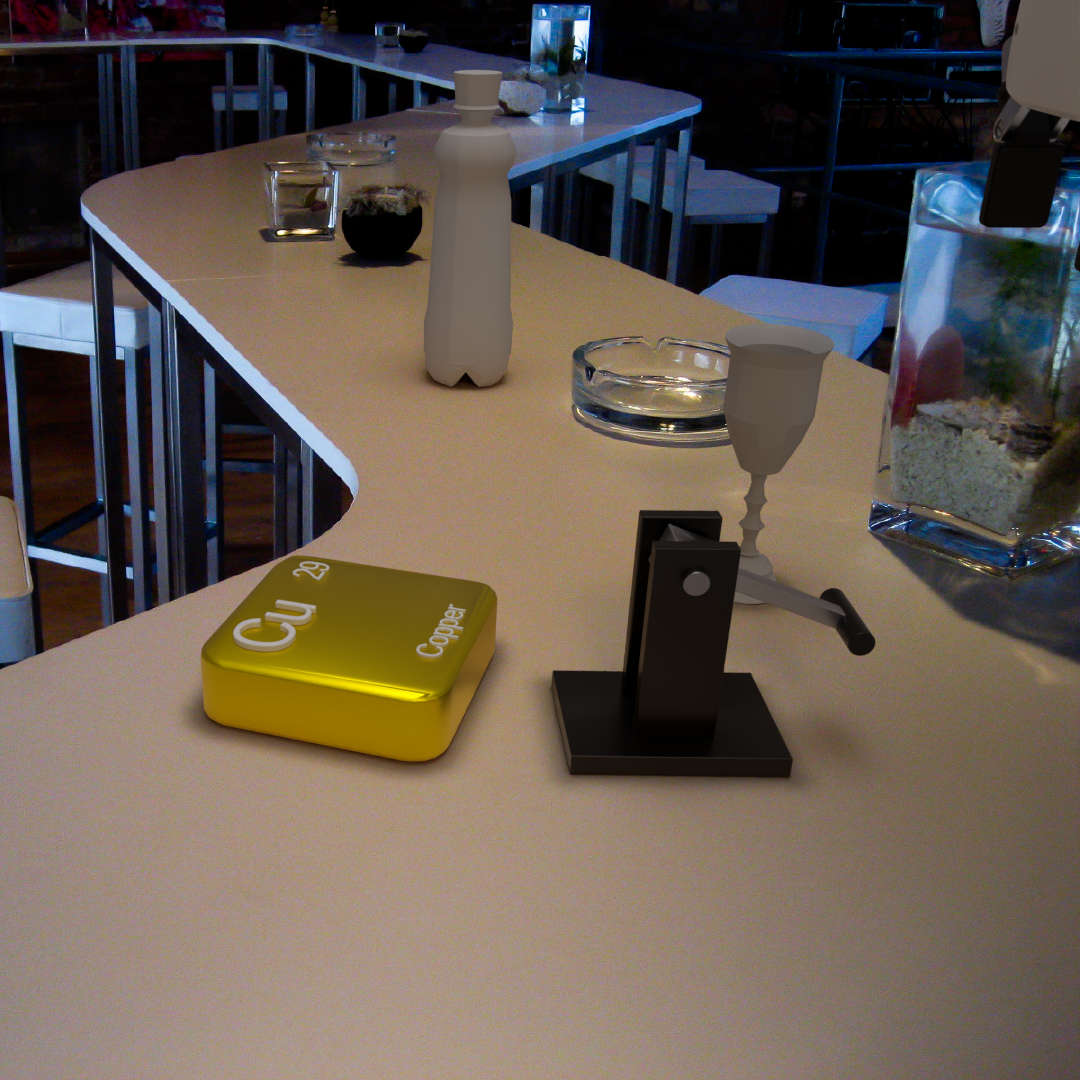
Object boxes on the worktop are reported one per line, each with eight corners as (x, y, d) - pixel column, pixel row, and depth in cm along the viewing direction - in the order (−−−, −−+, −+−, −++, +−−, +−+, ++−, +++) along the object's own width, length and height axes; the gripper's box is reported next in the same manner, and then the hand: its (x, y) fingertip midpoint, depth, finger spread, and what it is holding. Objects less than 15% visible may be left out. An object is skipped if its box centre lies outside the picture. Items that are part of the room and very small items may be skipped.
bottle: (510, 392, 127) (527, 77, 115) (420, 389, 128) (426, 76, 115) (509, 365, 136) (525, 68, 123) (425, 362, 136) (432, 67, 124)
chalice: (800, 615, 85) (844, 358, 78) (697, 607, 86) (730, 353, 79) (784, 567, 92) (824, 326, 84) (689, 560, 93) (719, 321, 85)
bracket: (748, 689, 77) (778, 496, 71) (790, 777, 69) (827, 567, 63) (551, 686, 77) (565, 494, 72) (569, 774, 69) (587, 565, 64)
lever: (831, 620, 73) (853, 585, 72) (861, 667, 68) (886, 631, 67) (642, 547, 71) (662, 511, 70) (660, 590, 66) (682, 552, 65)
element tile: (439, 771, 69) (441, 697, 67) (191, 722, 74) (186, 651, 72) (501, 641, 82) (505, 576, 80) (287, 606, 87) (285, 543, 84)
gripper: (1405, -194, 44) (1254, 296, 51) (1138, -159, 59) (1052, 212, 66) (1184, -193, 44) (1066, 295, 51) (976, -158, 59) (908, 211, 67)
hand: (1058, 247), depth 59 cm, fingers open, 9 cm apart
